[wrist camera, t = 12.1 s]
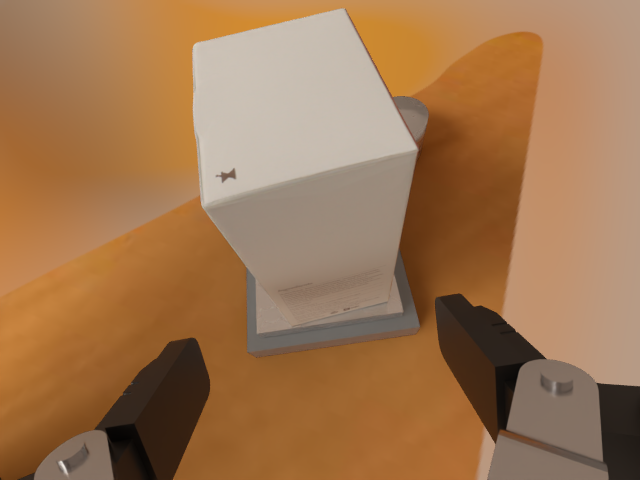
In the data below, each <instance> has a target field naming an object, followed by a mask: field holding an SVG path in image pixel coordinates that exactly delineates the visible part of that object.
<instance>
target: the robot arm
mask: <svg viewBox="0 0 640 480" xmlns="http://www.w3.org/2000/svg"><path fill="white" fill-rule="evenodd" d="M435 309H436V319H437V330H438V340H439V345H440V349H441V352H442V355H443V357H444V359H445V361H446V363H447V364H448V366H449V368H450V369H451V371H452V373H453V374H454V376H455V378H456V379H457V381H458V383H459V384H460V386H461V388H462V389H463V391H464V393H465V394H466V396H467V398H468V399H469V401H470V403H471V404H472V406H473V407H474V409H475V411H476V412H477V414H478V416H479V417H480V419H481V421H482V422H483V424H484V426H485V427H486V429H487V431H488V432H489V434H490V435H491V437H492V439H493V441H494V442H495V444H496V445H495V450H494V454H493V458H492V462H491V466H490V470H489V474H488V479H487V480H640V386H624V385H611V384H600V383H596V382H595V381H594V380H593V378H592V377H591V376H589V374H587V373H586V372H584V371H583V370H581V369H579V368H577V367H575V366H573V365H571V364H567V363H565V362H561V361H556V360H547V359H546V358H545V357H544V356H543V355H542V354H541V353H540V352H539V351H538V350H536V349H535V348H534V347H533V346H532V345H531V344H530V343H529V342H528V341H527V340H526V339H524V338H523V337H522V336H521V335H520V334H519V333H518V332H516V331H515V329H514V328H513V327H511V326H510V325H509V324H507V322H506V321H505V320H504V319H503V318H502V317H501V316H499V315H498V314H497V313H496V312H494V311H492V310H489V309H487V308H485V307H483V306H476V307H473V306H472V305H471V304H470V303H469V302H468V301H467V300H466V299H465V298H464V296H463V295H461V294H453V295H447V296H441V297H436V299H435ZM209 392H210V379H209V375H208V372H207V369H206V366H205V363H204V360H203V356H202V353H201V350H200V347H199V344H198V342H197V340H196V339H195V338H188V339H182V340H176V341H171V342H169V343H168V344H167V346H166V347H165V348H164V350H163V351H162V352H161V354H160V355H159V356H158V358H157V359H155V360H153V361H152V362H151V363H150V364H148V365H147V366H146V367H145V368H143V369H142V370H141V371H140V372H139V373H138V375H137V376H136V377H135V379H134V380H133V381H132V382H131V385H129V386H128V387H127V389H126V390H125V391H124V393H123V396H120V398H119V399H118V400H117V401H116V403H115V404H114V405H113V407H112V408H111V409H110V410H109V412H108V413H107V414H106V415H105V417H104V418H103V419H102V421H101V422H100V423H99V424H98V426H97V427H96V428H95V429H94V430H92V431H88V432H84V433H82V434H79V435H77V436H75V437H73V438H71V439H69V440H68V441H66V442H64V443H63V444H61V445H60V446H59V447H57V448H56V449H55V450H54V451H52V452H51V453H50V454H49V455H48V456H47V457H46V458H45V459H44V460H43V461H42V463H41V464H40V465H39V467H38V468H37V470H36V472H35V473H33V474H31V475H28V476H26V477H23V478H21V479H18V480H173V477H174V475H175V473H176V470H177V468H178V466H179V463H180V461H181V459H182V456H183V454H184V452H185V449H186V447H187V445H188V443H189V440H190V438H191V436H192V433H193V431H194V429H195V426H196V424H197V422H198V419H199V417H200V415H201V413H202V410H203V408H204V406H205V403H206V401H207V399H208V396H209ZM0 480H1V478H0Z"/></svg>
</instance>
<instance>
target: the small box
mask: <svg viewBox="0 0 640 480" xmlns="http://www.w3.org/2000/svg"><path fill="white" fill-rule="evenodd" d="M193 87H194V88H193V89H194V98H193V99H194V100H193V120H194V131H195V136H196V142H197V154H198V168H199V178H200V196H201V205H202V208H203V209H204V210H205V212H206V213H207V215H208V216H209V217H210V219H211V220H212V221H213V223H214V224H215V225H216V227H217V228H218V229H219V231H220V232H221V233H222V235H223V236H224V237H225V239H226V240H227V241H228V243H229V244H230V245H231V247H232V248H233V249H234V251H235V252H236V253H237V255H238V256H239V257H240V259H241V260H242V261H243V263H244V264H245V265H246V267H247V268H248V269H249V271H250V272H251V273H252V275H253V276H254V277H255V279H256V280H257V281H258V283H259V284H260V285H261V287H262V288H263V289H264V290H265V292H266V293H267V294H268V296H269V297H270V298H271V300H272V301H273V302H274V304H275V305H276V306H277V308H278V309H279V311H280V312H281V314H282V315H283V316H284V318H285V319H286V320H287V321H288V323H289V325H290V326H295V325H299V324H303V323H307V322H310V321H314V320H318V319H322V318H326V317H329V316H333V315H337V314H341V313H344V312H348V311H352V310H356V309H360V308H364V307H368V306H372V305H376V304H380V303H384V302H387V301H388V300H389V295H390V291H391V285H392V280H393V275H394V270H395V265H396V260H397V255H398V250H399V245H400V240H401V235H402V230H403V225H404V220H405V215H406V210H407V205H408V200H409V195H410V190H411V185H412V180H413V175H414V171H415V166H416V162H417V156H418V152H419V146H418V144H417V142H416V140H415V139H414V137H413V135H412V133H411V131H410V129H409V127H408V125H407V124H406V122H405V120H404V118H403V116H402V114H401V113H400V111H399V109H398V107H397V105H396V103H395V101H394V99H393V97H392V95H391V93H390V92H389V90H388V88H387V86H386V84H385V82H384V81H383V79H382V77H381V75H380V73H379V71H378V69H377V67H376V65H375V63H374V62H373V60H372V58H371V56H370V54H369V52H368V50H367V48H366V47H365V45H364V43H363V41H362V39H361V37H360V35H359V33H358V32H357V30H356V28H355V26H354V24H353V22H352V20H351V18H350V16H349V15H348V13H347V11H346V9H337V10H333V11H329V12H325V13H320V14H316V15H312V16H308V17H305V18H299V19H295V20H292V21H288V22H283V23H278V24H274V25H270V26H266V27H261V28H257V29H253V30H249V31H245V32H241V33H236V34H232V35H228V36H224V37H220V38H216V39H212V40H207V41H203V42H198V43H196V44H194V47H193Z"/></svg>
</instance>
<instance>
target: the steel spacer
mask: <svg viewBox="0 0 640 480" xmlns="http://www.w3.org/2000/svg"><path fill="white" fill-rule="evenodd" d="M393 99H394V101H395V103H396V105H397V107H398V109H399V111H400V113H401V114H402V116H403V118H404V120H405V122H406V124H407V125H408V127H409V129H410V131H411V133H412V135H413V137H414V139H415V140H416V142H417V144H418V146H419V152H418V156H417V159H418V158H419V156H420V154H421V149H422V145H423V140H424V135H425V131H426V126H427V122H428V116H429V114H428V110H427V108H426V106H425V105H424V104H423V103H422V102H420V101H419V100H417V99H414V98H411V97H405V96H397V97H393Z"/></svg>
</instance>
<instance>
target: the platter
mask: <svg viewBox="0 0 640 480" xmlns="http://www.w3.org/2000/svg"><path fill="white" fill-rule="evenodd" d="M403 312H404V311H403V307H402V303H401V299H400V295H399V291H398V287H397V283H396V279H395V275H393V280H392V285H391V291H390V295H389V300H388V301H387V302H384V303H380V304H376V305H372V306H368V307H364V308H360V309H356V310H352V311H348V312H344V313H341V314H337V315H333V316H329V317H326V318H322V319H318V320H314V321H310V322H307V323H303V324H299V325H295V326H290V325H289V323H288V321H287V320H286V319H285V318H284V316H283V315H282V314H281V312H280V311H279V309H278V308H277V306H276V305H275V304H274V302H273V301H272V300H271V298H270V297H269V296H268V294H267V293H266V292H265V290H264V289H263V288H262V287H261V285H260V284H259V283H258V281H257V280H256V320H257V334H258V335H259V336H260V337H262V338H265V337H272V336H278V335H285V334H292V333H298V332H305V331H312V330H319V329H325V328H332V327H339V326H346V325H352V324H359V323H366V322H372V321H379V320H386V319H393V318H399V317H402V315H403Z"/></svg>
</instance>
